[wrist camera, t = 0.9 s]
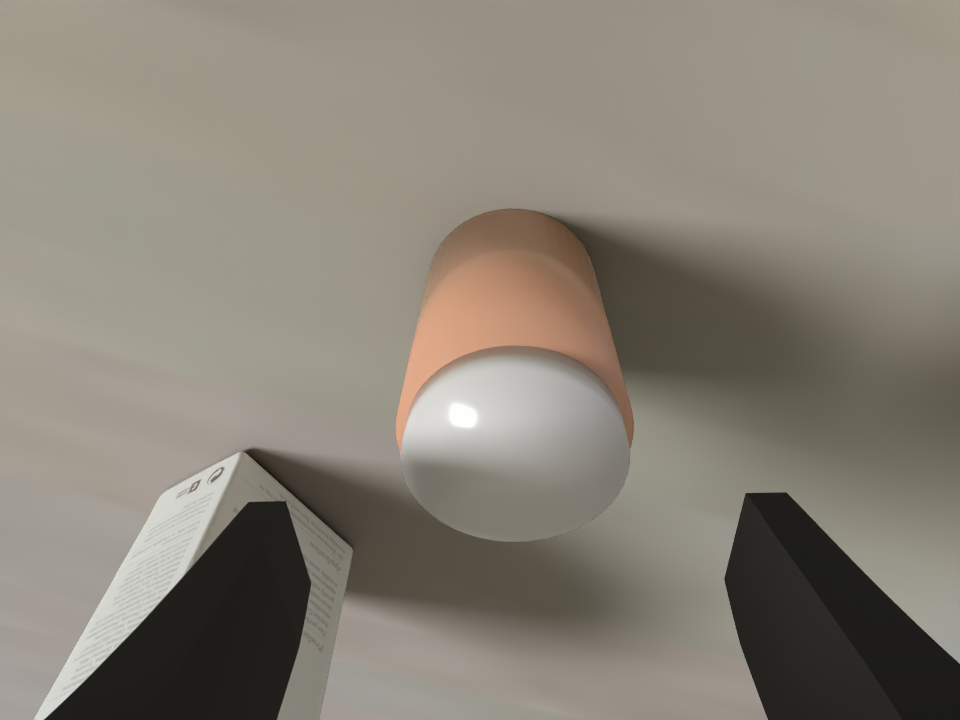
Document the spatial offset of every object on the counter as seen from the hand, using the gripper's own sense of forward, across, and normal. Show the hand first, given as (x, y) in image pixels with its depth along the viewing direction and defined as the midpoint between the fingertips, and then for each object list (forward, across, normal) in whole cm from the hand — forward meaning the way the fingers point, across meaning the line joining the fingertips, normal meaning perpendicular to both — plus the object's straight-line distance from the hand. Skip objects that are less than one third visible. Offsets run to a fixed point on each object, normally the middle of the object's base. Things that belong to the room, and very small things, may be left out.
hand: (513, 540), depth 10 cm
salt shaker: (+9, 0, 0) cm, 9 cm away
